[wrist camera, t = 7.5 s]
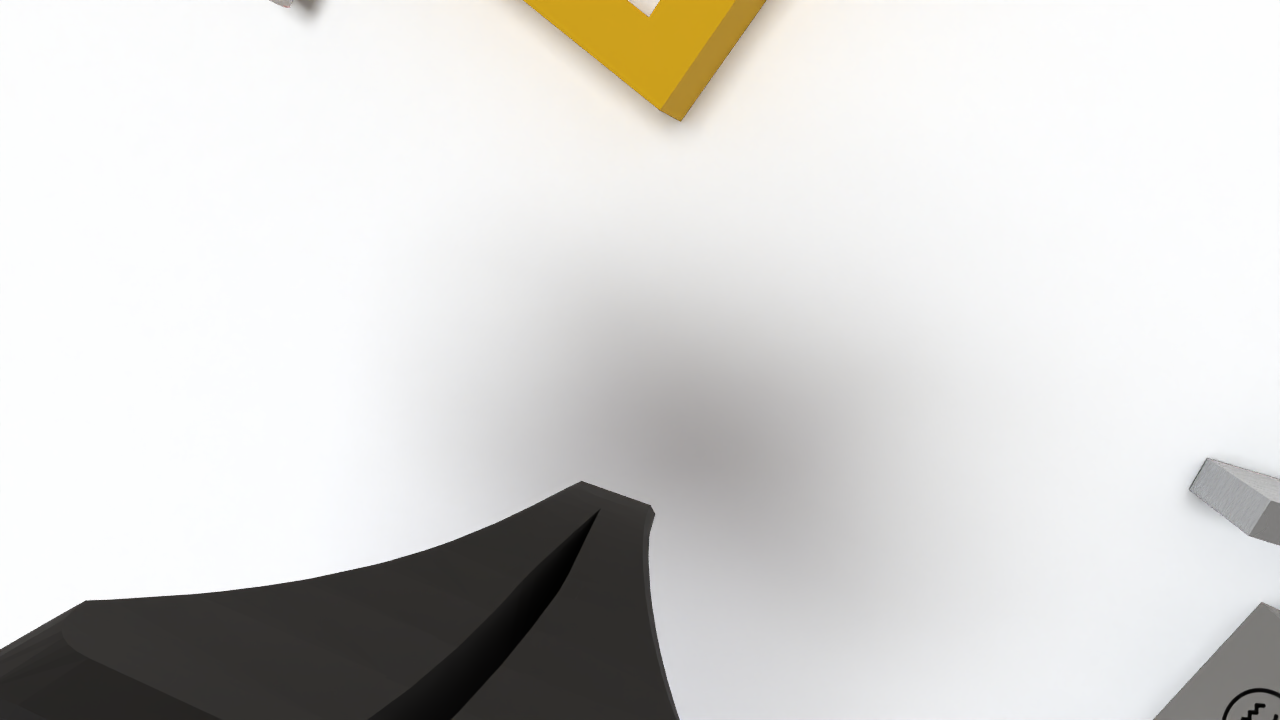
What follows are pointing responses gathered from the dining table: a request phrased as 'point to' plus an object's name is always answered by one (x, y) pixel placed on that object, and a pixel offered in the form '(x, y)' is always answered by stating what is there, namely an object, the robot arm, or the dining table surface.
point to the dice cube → (1236, 676)
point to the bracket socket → (1242, 498)
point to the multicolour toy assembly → (653, 41)
